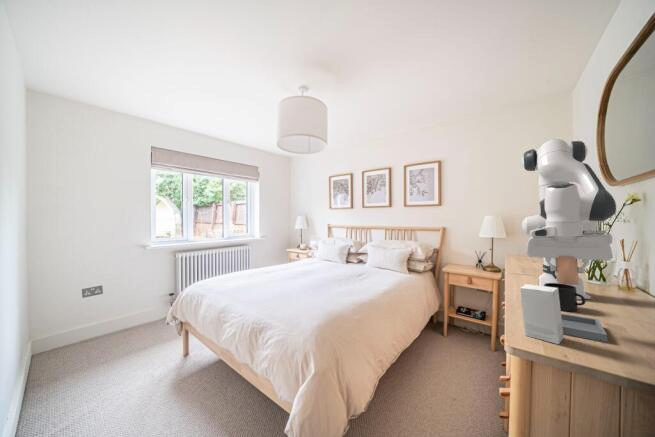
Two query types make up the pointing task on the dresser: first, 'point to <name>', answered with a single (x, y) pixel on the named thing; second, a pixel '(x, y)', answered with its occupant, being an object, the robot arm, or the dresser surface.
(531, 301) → the skincare box
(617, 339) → the dresser surface
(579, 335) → the tray
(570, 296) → the mug
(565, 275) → the pinkish-tan rounded block
